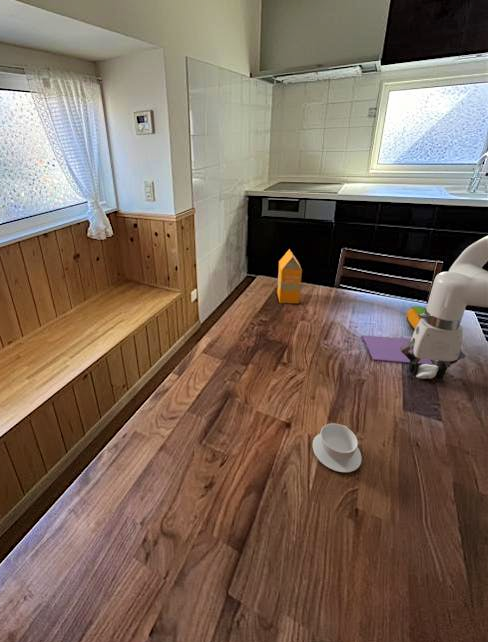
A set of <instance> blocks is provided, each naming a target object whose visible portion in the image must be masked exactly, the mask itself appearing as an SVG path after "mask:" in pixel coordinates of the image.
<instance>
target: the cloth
mask: <svg viewBox="0 0 488 642" xmlns="http://www.w3.org/2000/svg"><path fill="white" fill-rule="evenodd" d="M362 338H363V339H364V342H365V345H366V347H367V350H368V352H369V354H370V356H371V359H372V361H378V362H379V361H380V362H381V361H382V362H390V363H391V362H392V363H393V362H394V363H402V364H403V363H404V364H409V363H410V360H409V359H408V358H407V357H406V356H405V355H404V354H403V353H402V352H401V350H400V348H401V347H402V346H404V345H406V344H408V343H409V342H411V339H412V338H398V337H396V338H395V337H384V336H371V335H363V336H362ZM409 352H410V353H412V352H413V349H411V350H409ZM418 364H419V365H422V364H430V365H434V363H433V360H428V359H421V360H420V361H419V362H418Z"/></svg>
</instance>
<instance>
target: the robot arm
mask: <svg viewBox="0 0 488 642" xmlns="http://www.w3.org/2000/svg"><path fill="white" fill-rule="evenodd" d="M487 263H488V235H486V236H484V237H482V238H480V239H478V240H477V241H474V242H473V243H472V244H470V245H468V246H467V247H466V248H465V249H464V250H463V251H461V254H459V256H458V257H457V258H456V259H455V261H454V262H453V263H452V265H451V266H450V267H449V269H448V271H442V272H440V273H437V275H435V278H434V279H433V283H432V287H431V290H430V294H429V297H428V300H427V304H426V307H425V308H426V310H425V312H424V313H423V314H419V319H421V320H420V321H419V323H418V325H417V327H416V329H415V331H413V333H412V336H411V338H410V339H411V342H409V343H408V344H406V345H404V346H402V347H401V348H400V350H401V352H402V353H403V354H404V355H405V356H406V357H407V358H408V359H409V360H410V363H408V367H407V369H408V371H409V372H410V374H411V375H412V377H415V376H416V375H417V372H418V368H419V366H420V364H418V362H419V361H420V360H421V359H428V360H431V361H437V363H436V366H438V367H439V370H438V371H437V373H436V376H437V377H438V379H440V380H443V378H444V376H445V375H446V372H447V370H448V368H451V365H453V364H455V363H457V362H458V361H460V360H462V359H464V358H466V356H467V355H466V354H465V353H464V352H463V350H462V349H461V348H462V343H463V338H464V337H463V334H464V333H463V332H464V328H463V326H462V325H461V324H462V323H461V322H462V319H463V317H464V314H465V311H466V307H467V306H474V307H481V308H488V270H486V269H484V268H483V267H484V265H485V264H487ZM411 349H413V352H412V353H410V352H409V350H411Z"/></svg>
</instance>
